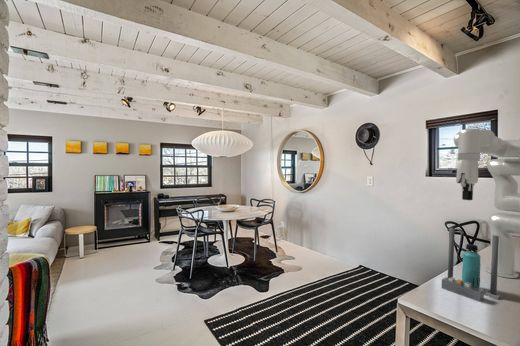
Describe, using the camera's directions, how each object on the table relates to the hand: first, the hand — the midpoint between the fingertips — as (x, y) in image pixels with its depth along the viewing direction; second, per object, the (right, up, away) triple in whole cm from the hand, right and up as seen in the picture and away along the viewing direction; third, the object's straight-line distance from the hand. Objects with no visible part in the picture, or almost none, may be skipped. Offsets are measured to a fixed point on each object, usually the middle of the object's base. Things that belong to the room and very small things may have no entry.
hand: (467, 199), depth 113 cm
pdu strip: (-3, -41, 0) cm, 41 cm away
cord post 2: (+9, -41, -2) cm, 42 cm away
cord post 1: (+1, -41, +11) cm, 42 cm away
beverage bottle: (+5, -41, +5) cm, 42 cm away
